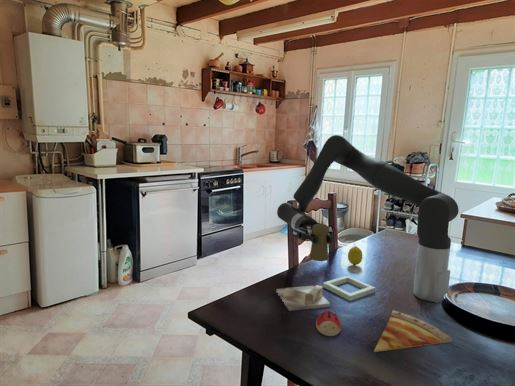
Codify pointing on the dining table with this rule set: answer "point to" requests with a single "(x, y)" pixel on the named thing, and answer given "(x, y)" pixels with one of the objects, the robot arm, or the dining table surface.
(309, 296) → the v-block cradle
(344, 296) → the block
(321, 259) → the olive tall tapered post
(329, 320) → the ladybug figurine
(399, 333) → the pizza slice
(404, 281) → the dining table surface
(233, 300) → the dining table surface
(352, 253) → the lemon
